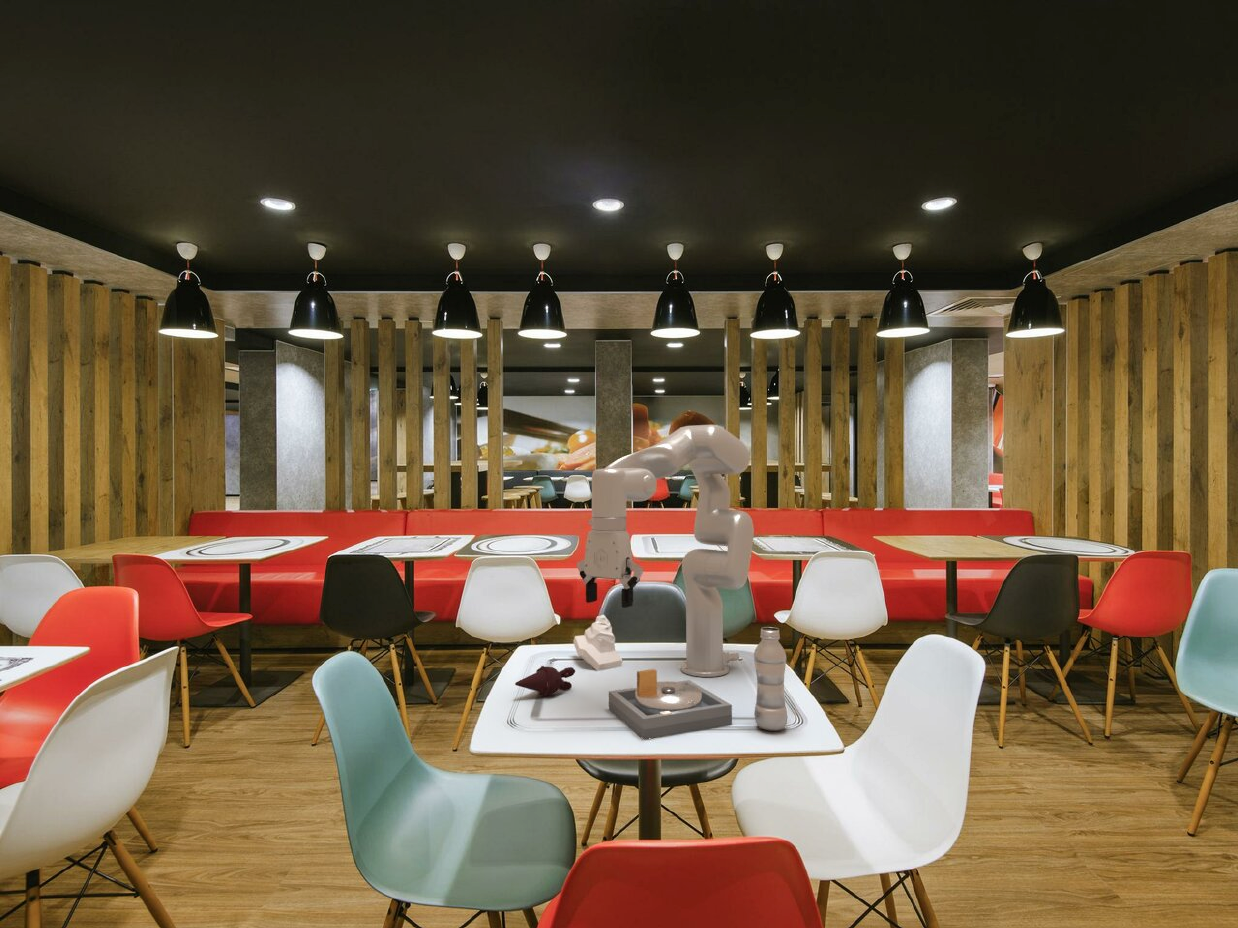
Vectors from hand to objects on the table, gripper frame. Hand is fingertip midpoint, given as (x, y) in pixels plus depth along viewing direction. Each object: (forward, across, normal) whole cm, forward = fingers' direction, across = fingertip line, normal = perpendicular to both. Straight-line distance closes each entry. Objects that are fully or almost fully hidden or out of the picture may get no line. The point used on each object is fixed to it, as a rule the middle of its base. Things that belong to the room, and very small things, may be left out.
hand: (609, 604), depth 145 cm
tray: (+23, +12, +5) cm, 27 cm away
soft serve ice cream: (+23, -25, +28) cm, 45 cm away
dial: (+21, +12, +5) cm, 25 cm away
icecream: (+24, -19, 0) cm, 30 cm away
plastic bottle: (+23, +32, +12) cm, 41 cm away
